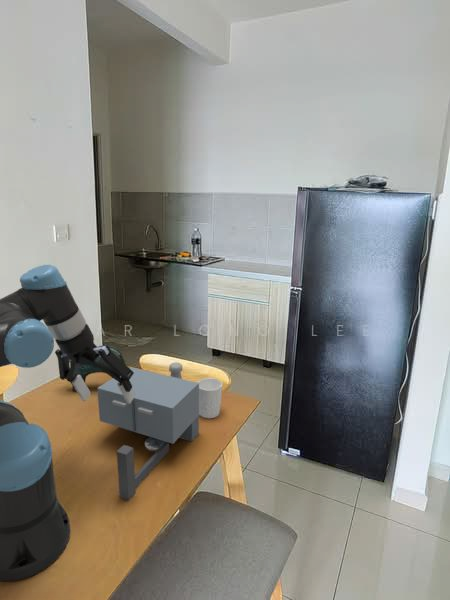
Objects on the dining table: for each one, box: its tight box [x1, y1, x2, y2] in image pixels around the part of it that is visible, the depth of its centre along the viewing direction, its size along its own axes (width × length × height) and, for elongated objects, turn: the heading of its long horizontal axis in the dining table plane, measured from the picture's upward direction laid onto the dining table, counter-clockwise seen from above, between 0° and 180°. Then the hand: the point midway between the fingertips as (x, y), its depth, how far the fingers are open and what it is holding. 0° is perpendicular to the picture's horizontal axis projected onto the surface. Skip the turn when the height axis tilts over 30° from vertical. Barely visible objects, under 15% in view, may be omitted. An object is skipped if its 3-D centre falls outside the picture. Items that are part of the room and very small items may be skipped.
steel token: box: [144, 436, 165, 452], centre depth 103 cm, size 6×6×1 cm
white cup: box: [196, 377, 223, 419], centre depth 117 cm, size 8×8×10 cm
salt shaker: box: [168, 361, 183, 379], centre depth 123 cm, size 6×6×13 cm
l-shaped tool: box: [116, 442, 170, 501], centre depth 91 cm, size 18×2×12 cm, turn 157°
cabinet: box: [96, 366, 200, 444], centre depth 103 cm, size 15×23×16 cm, turn 67°
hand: (108, 398), depth 94 cm, fingers open, 13 cm apart
